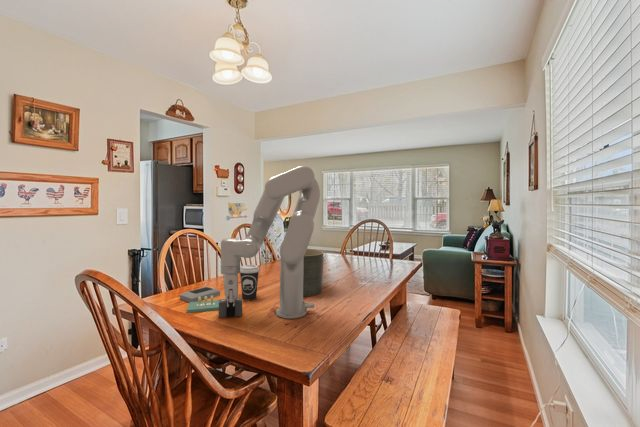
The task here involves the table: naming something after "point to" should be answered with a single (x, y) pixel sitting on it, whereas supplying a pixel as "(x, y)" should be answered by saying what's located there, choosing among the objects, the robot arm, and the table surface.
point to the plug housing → (224, 304)
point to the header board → (203, 305)
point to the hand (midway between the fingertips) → (230, 313)
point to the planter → (313, 272)
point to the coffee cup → (249, 281)
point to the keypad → (199, 294)
